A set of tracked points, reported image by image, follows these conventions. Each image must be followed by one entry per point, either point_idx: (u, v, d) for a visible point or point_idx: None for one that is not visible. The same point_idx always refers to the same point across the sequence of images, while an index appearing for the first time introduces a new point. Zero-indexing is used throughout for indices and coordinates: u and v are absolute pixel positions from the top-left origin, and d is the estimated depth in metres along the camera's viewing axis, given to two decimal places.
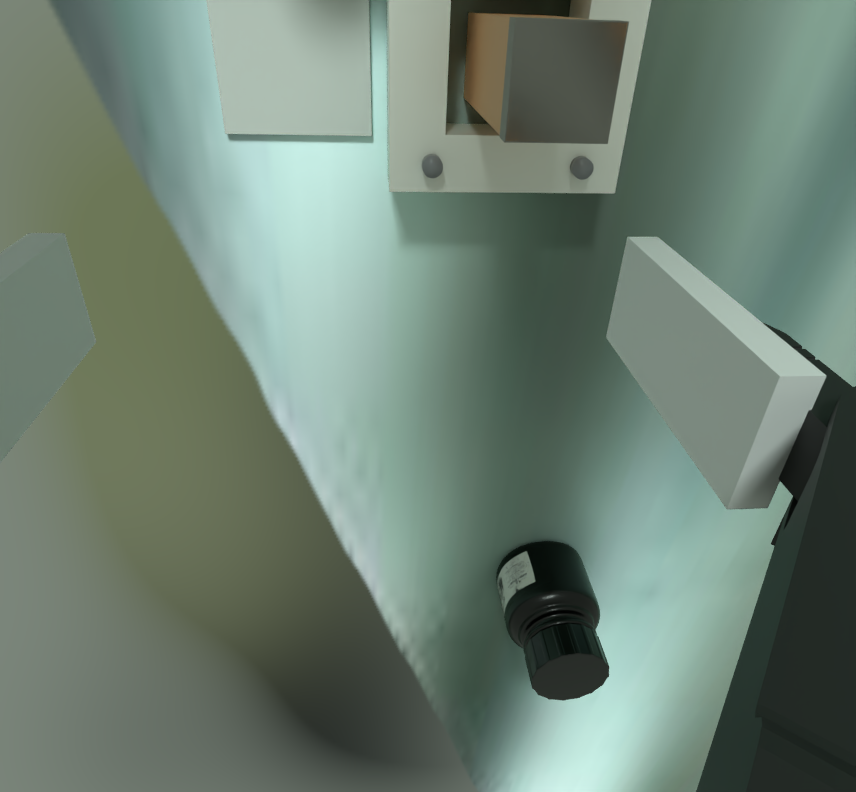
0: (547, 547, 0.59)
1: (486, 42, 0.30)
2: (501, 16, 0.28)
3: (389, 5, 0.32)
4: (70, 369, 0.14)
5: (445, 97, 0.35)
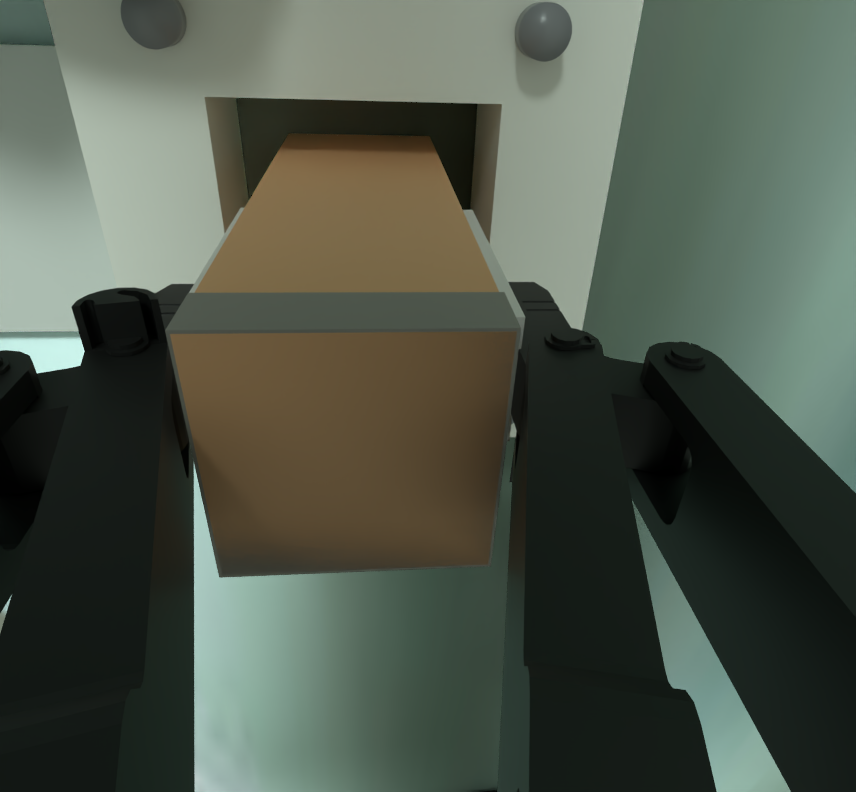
0: None
1: None
2: (252, 220, 0.12)
3: (84, 147, 0.16)
4: None
5: None
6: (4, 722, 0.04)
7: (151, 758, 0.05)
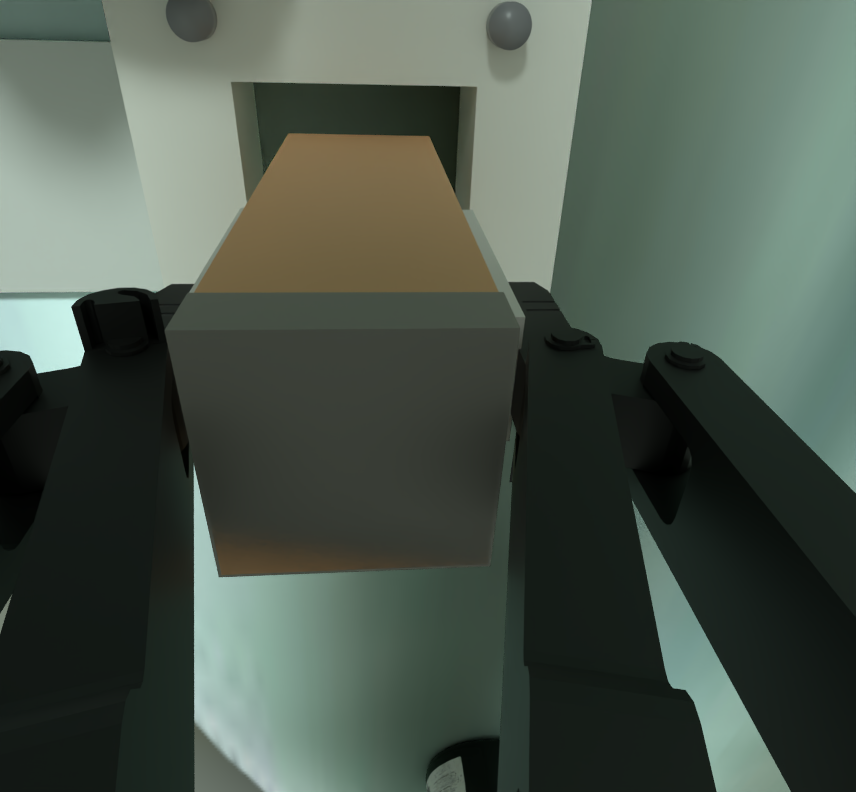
0: (487, 751, 0.46)
1: None
2: (251, 220, 0.12)
3: (130, 124, 0.19)
4: None
5: None
6: (4, 722, 0.04)
7: (151, 758, 0.05)
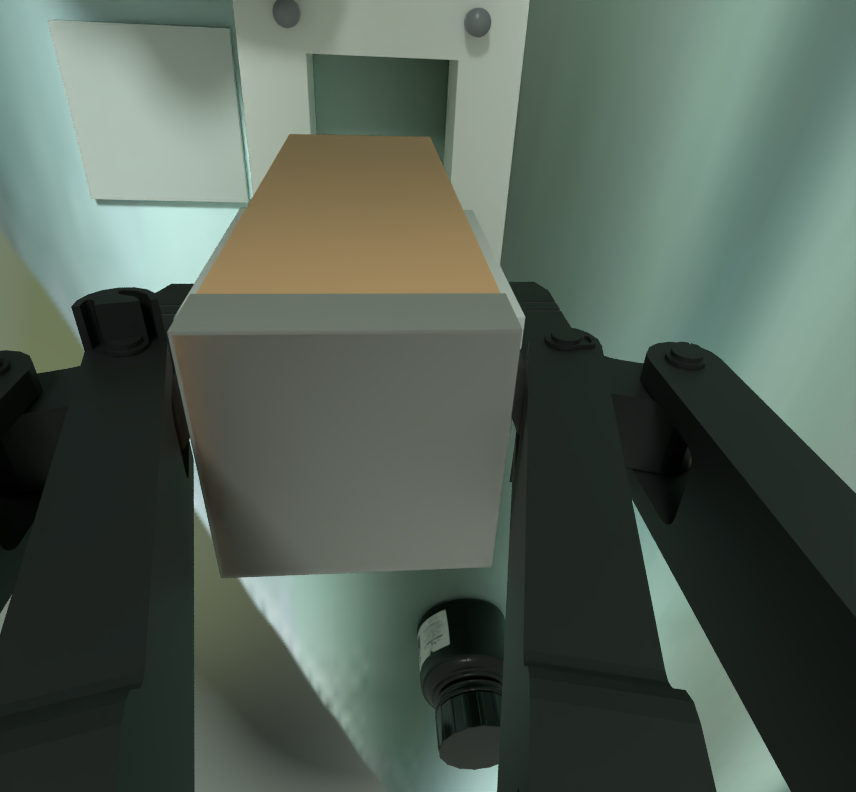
0: (466, 606, 0.57)
1: None
2: (253, 221, 0.12)
3: (241, 79, 0.30)
4: None
5: None
6: (5, 721, 0.04)
7: (151, 758, 0.05)
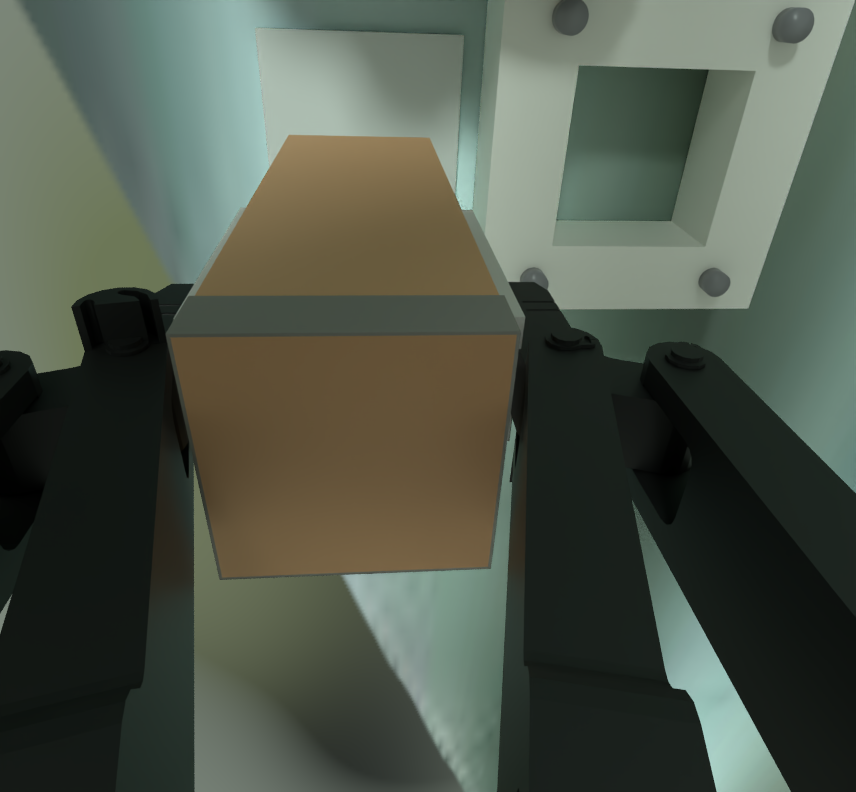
0: None
1: None
2: (252, 222, 0.12)
3: (497, 97, 0.25)
4: None
5: (556, 203, 0.28)
6: (4, 724, 0.04)
7: (151, 758, 0.05)
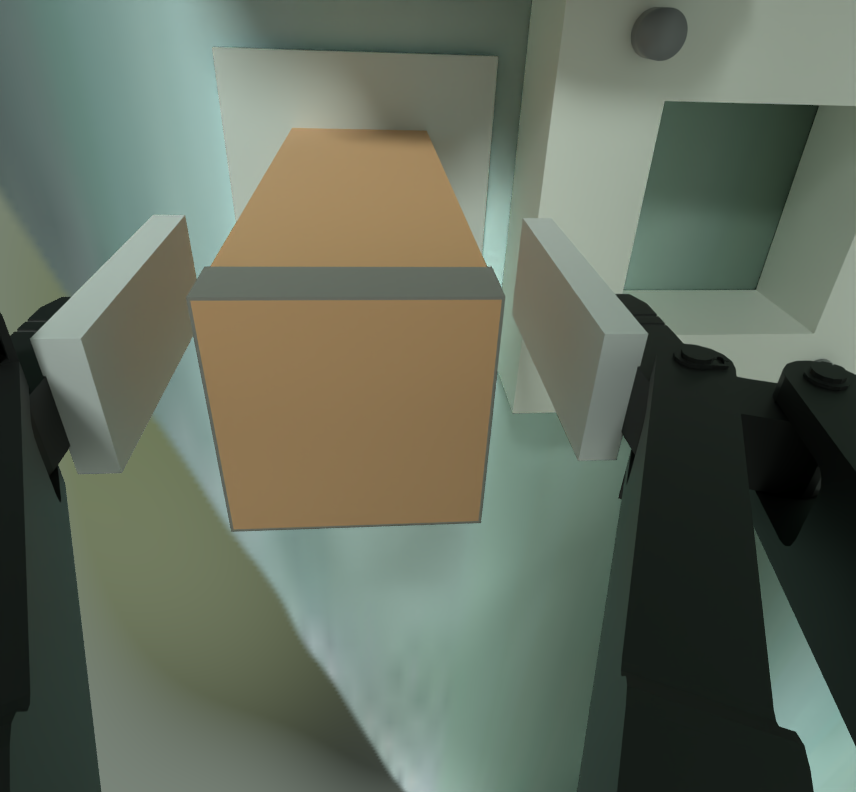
0: None
1: None
2: (259, 205, 0.13)
3: (548, 145, 0.18)
4: (187, 339, 0.15)
5: (622, 282, 0.21)
6: None
7: (49, 781, 0.05)
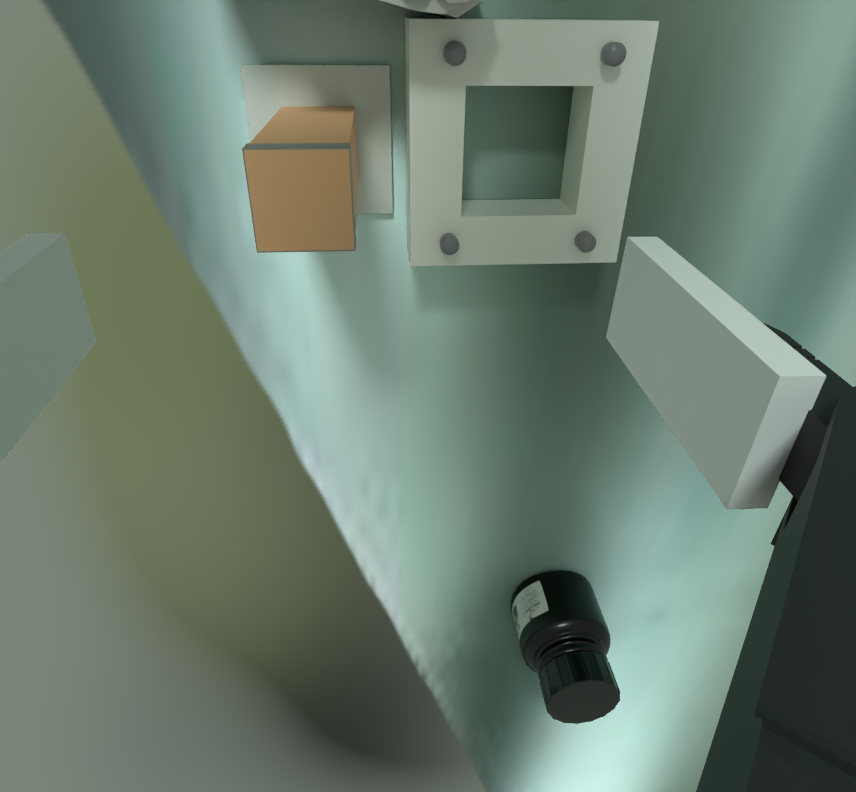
0: (559, 576, 0.62)
1: None
2: (265, 131, 0.31)
3: (410, 109, 0.36)
4: (70, 368, 0.14)
5: (460, 185, 0.38)
6: None
7: None
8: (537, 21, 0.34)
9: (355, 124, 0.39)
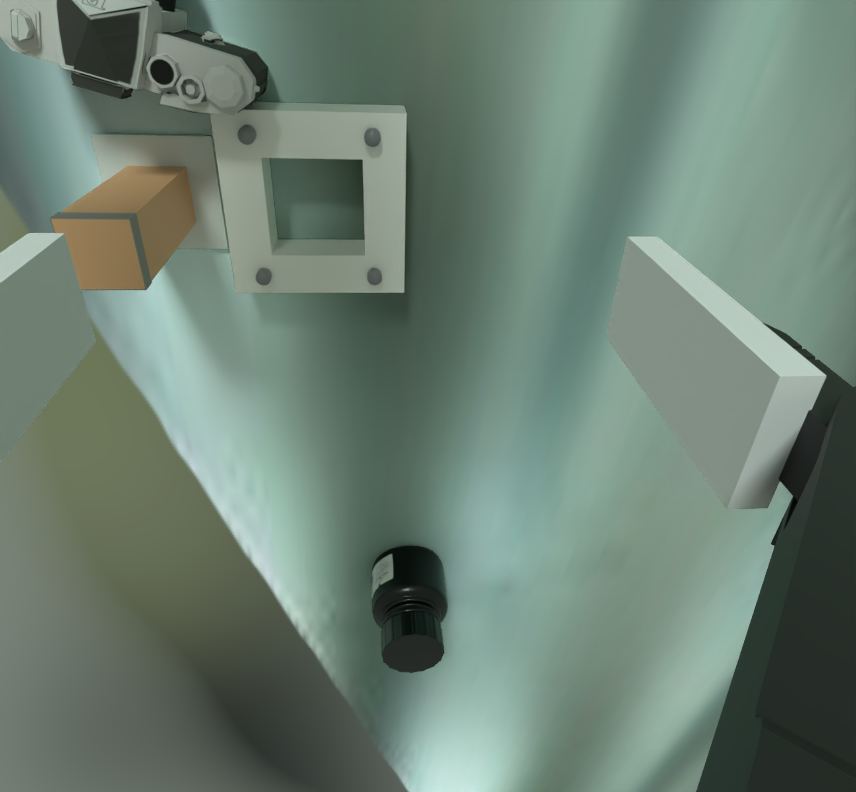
0: (408, 550, 0.73)
1: None
2: (86, 197, 0.41)
3: (219, 174, 0.46)
4: (70, 369, 0.14)
5: (268, 231, 0.49)
6: None
7: None
8: (310, 112, 0.44)
9: (188, 180, 0.49)
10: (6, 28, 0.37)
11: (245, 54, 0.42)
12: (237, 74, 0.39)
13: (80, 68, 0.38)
